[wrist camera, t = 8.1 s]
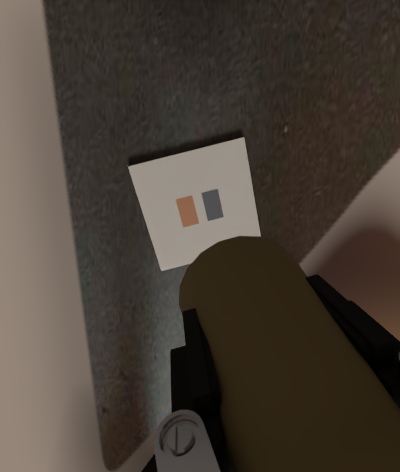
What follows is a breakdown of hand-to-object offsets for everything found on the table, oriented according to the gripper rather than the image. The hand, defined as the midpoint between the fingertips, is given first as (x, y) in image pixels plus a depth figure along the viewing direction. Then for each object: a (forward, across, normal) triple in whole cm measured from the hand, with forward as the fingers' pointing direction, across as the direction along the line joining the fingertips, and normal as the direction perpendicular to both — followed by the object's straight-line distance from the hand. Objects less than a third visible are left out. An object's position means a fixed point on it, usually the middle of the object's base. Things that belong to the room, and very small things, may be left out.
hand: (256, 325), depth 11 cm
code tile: (+21, 0, 0) cm, 21 cm away
